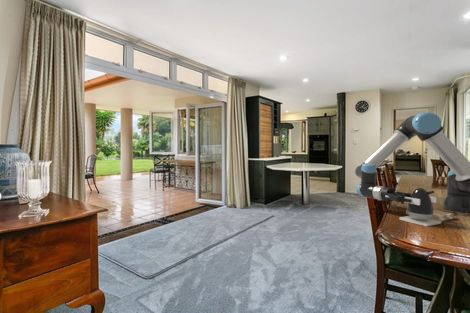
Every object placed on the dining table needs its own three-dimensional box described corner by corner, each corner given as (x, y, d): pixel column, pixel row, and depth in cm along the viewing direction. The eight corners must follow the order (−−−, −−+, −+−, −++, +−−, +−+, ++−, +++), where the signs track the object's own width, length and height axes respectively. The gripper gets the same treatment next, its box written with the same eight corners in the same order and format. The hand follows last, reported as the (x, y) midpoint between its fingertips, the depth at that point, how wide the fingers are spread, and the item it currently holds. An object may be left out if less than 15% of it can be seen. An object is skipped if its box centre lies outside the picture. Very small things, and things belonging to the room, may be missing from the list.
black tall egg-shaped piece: (431, 223, 112) (432, 190, 112) (404, 218, 120) (405, 187, 119) (435, 219, 119) (436, 188, 118) (410, 215, 127) (410, 185, 126)
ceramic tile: (413, 217, 127) (413, 215, 127) (441, 223, 116) (441, 221, 116) (399, 219, 122) (399, 217, 122) (426, 226, 111) (426, 224, 111)
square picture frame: (421, 211, 139) (421, 207, 138) (453, 218, 125) (453, 213, 125) (405, 214, 132) (406, 209, 132) (437, 221, 119) (437, 216, 119)
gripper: (398, 198, 141) (442, 206, 122) (368, 202, 130) (412, 211, 111) (398, 185, 140) (442, 191, 121) (369, 188, 130) (412, 194, 111)
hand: (428, 201), depth 116 cm, fingers open, 13 cm apart
